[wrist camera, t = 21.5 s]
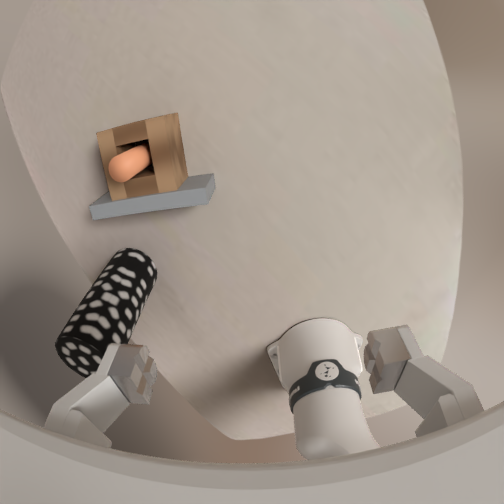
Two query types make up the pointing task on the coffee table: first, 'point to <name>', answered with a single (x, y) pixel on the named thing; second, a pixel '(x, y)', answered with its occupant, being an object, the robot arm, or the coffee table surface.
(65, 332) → the white-spotted black cylinder
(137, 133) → the block
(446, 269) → the coffee table surface
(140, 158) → the orange rounded capsule
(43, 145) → the coffee table surface
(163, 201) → the slab
